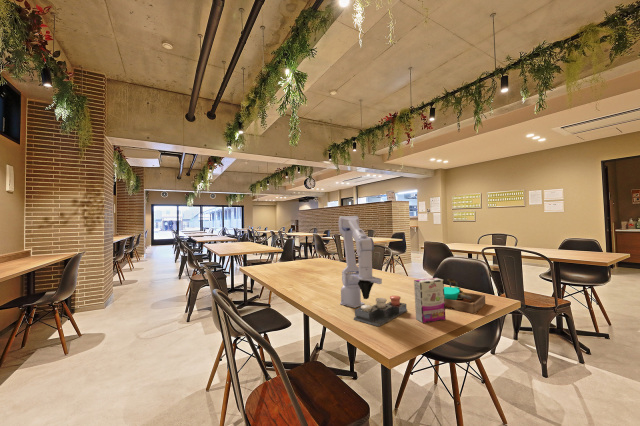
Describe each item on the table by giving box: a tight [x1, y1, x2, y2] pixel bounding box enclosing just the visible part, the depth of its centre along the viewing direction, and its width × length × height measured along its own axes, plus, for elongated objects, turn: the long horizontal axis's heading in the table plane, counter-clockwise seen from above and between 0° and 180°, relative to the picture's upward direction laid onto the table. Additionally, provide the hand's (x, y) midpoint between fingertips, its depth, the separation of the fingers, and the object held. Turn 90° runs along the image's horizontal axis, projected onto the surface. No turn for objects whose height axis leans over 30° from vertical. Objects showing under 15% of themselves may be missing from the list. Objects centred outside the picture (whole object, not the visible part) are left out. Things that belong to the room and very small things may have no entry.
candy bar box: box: [413, 277, 446, 324], centre depth 112 cm, size 11×5×16 cm, turn 105°
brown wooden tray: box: [444, 291, 486, 314], centre depth 131 cm, size 22×18×4 cm
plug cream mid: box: [375, 297, 387, 309], centre depth 118 cm, size 5×5×4 cm
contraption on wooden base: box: [444, 278, 472, 310], centre depth 131 cm, size 14×18×15 cm
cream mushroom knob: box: [360, 304, 373, 312], centre depth 115 cm, size 5×5×4 cm
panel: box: [353, 301, 408, 328], centre depth 118 cm, size 13×24×4 cm, turn 137°
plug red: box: [389, 295, 401, 306], centre depth 121 cm, size 5×5×4 cm
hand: (366, 298), depth 115 cm, fingers closed
